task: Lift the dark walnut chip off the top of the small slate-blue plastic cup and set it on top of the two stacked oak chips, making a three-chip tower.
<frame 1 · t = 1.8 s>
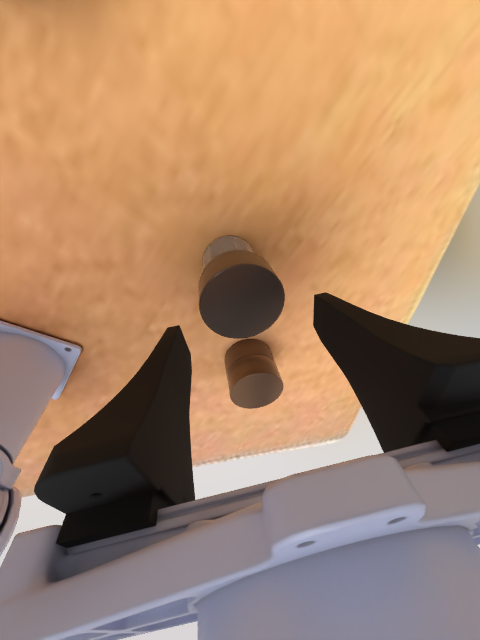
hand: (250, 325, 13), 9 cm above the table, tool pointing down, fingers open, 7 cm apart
plastic cup: (229, 262, 20), on the table, touching walnut chip
walnut chip: (237, 287, 16), point 4 cm above the table, touching plastic cup
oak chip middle: (252, 373, 24), point 2 cm above the table, touching oak chip bottom
oak chip bottom: (247, 356, 26), on the table, touching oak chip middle
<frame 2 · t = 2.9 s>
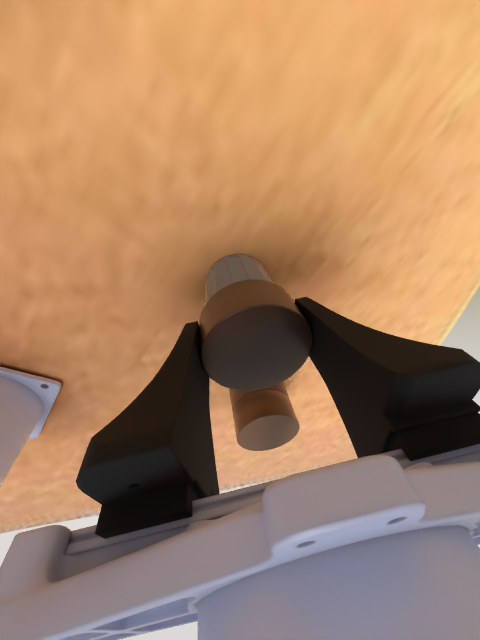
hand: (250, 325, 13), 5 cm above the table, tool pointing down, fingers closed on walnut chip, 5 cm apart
plastic cup: (236, 285, 16), on the table, touching walnut chip
walnut chip: (248, 323, 13), point 4 cm above the table, touching gripper, plastic cup
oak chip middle: (261, 408, 21), point 2 cm above the table, touching oak chip bottom
oak chip bottom: (256, 387, 23), on the table, touching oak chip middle
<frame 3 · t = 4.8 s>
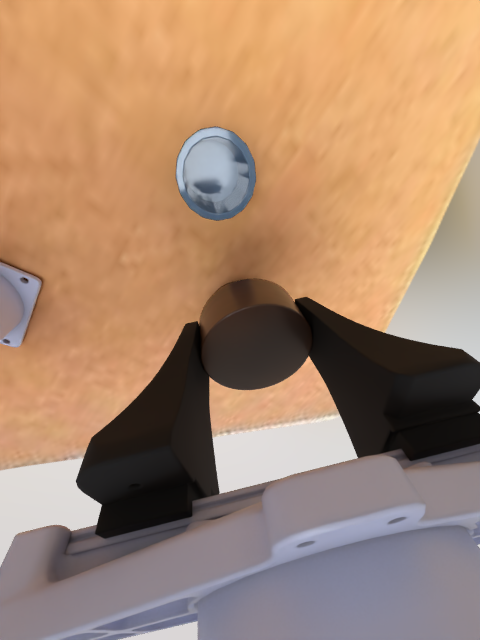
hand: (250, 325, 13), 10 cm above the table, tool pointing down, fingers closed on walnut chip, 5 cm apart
plastic cup: (211, 172, 17), on the table
walnut chip: (248, 322, 13), point 10 cm above the table, touching gripper
when the fingers open (5 cm above the table, at t = 7.0 s): walnut chip stays where it is, resting on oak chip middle.
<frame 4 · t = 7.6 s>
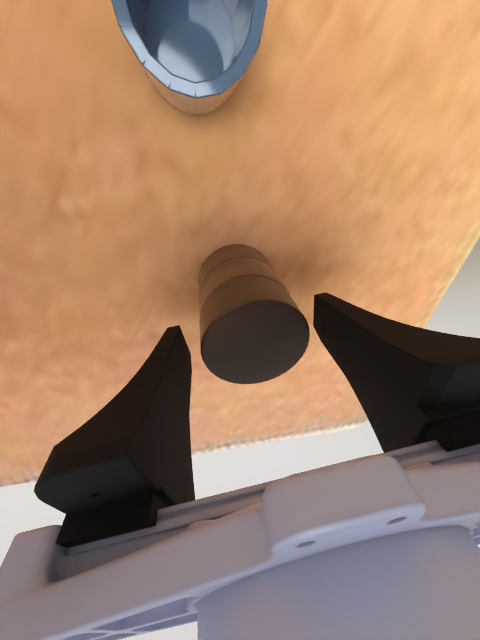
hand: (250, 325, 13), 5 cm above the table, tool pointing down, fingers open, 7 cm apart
plastic cup: (191, 47, 10), on the table
walnut chip: (247, 318, 13), point 5 cm above the table, touching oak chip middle
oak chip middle: (240, 297, 15), point 2 cm above the table, touching oak chip bottom, walnut chip
oak chip bottom: (235, 280, 17), on the table, touching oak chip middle
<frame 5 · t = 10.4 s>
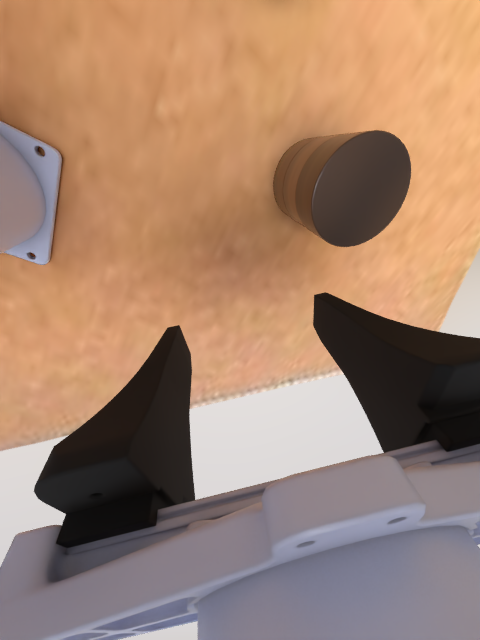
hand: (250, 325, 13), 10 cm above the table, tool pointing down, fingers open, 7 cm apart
walnut chip: (337, 190, 14), point 5 cm above the table, touching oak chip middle
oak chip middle: (320, 185, 16), point 2 cm above the table, touching oak chip bottom, walnut chip
oak chip bottom: (306, 181, 18), on the table, touching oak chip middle
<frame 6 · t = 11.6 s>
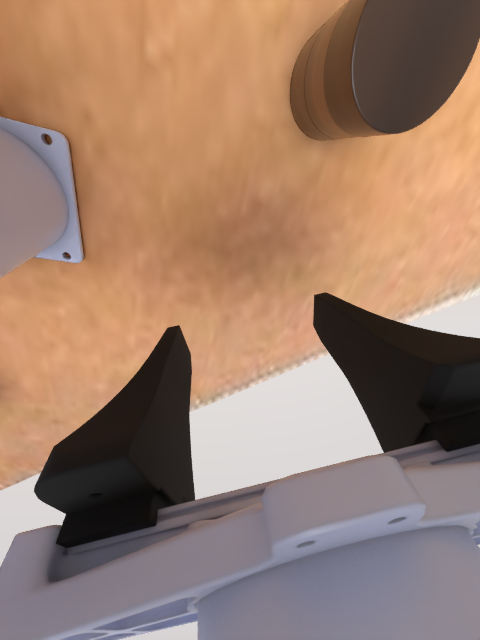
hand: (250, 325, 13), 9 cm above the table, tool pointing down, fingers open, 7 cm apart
walnut chip: (377, 65, 11), point 5 cm above the table, touching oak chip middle
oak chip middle: (350, 78, 13), point 2 cm above the table, touching oak chip bottom, walnut chip
oak chip bottom: (329, 88, 15), on the table, touching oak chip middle
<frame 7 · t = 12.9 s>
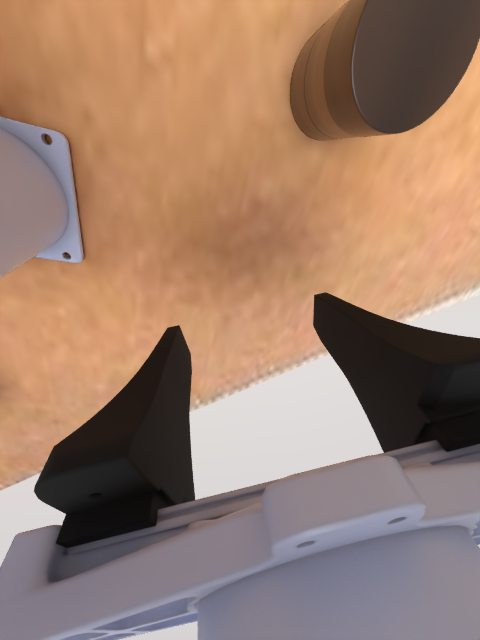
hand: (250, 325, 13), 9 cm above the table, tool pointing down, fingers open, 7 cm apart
walnut chip: (377, 65, 11), point 5 cm above the table, touching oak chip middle
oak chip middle: (350, 78, 13), point 2 cm above the table, touching oak chip bottom, walnut chip
oak chip bottom: (329, 88, 15), on the table, touching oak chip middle
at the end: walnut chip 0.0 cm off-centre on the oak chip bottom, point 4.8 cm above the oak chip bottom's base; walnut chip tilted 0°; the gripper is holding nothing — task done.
